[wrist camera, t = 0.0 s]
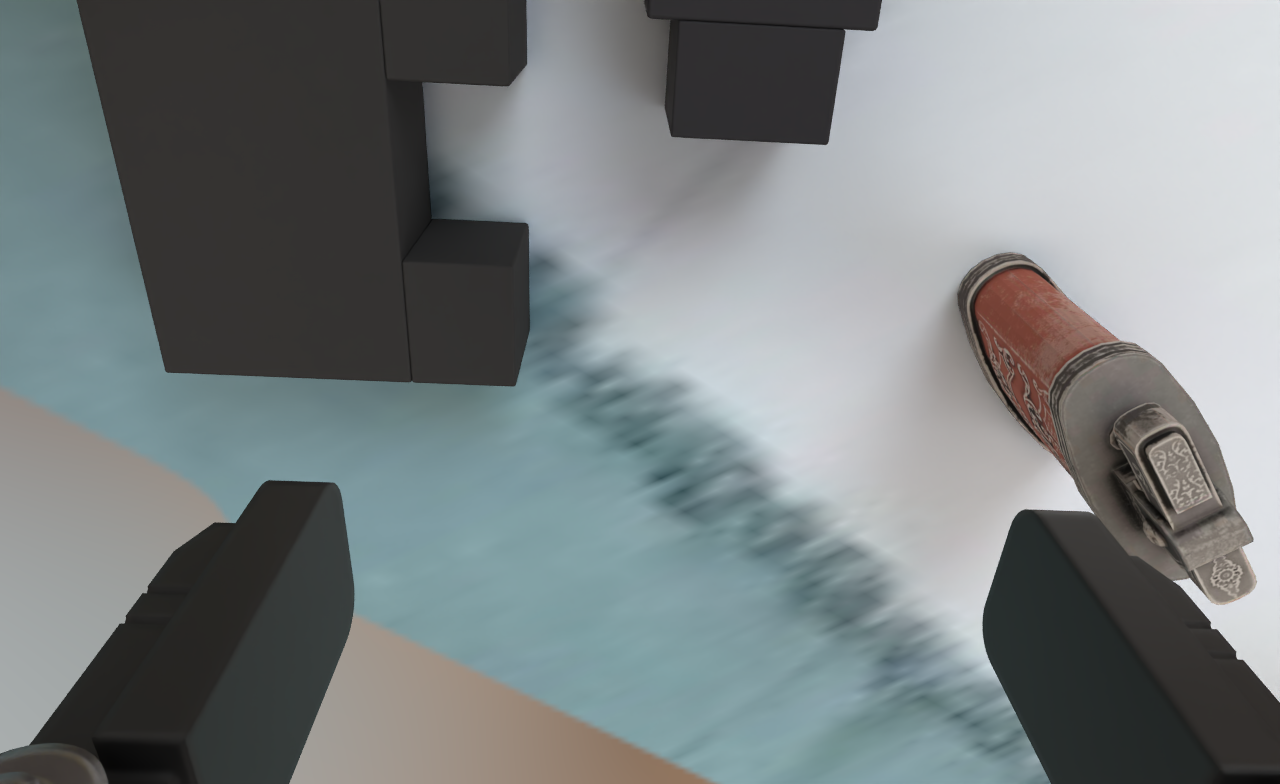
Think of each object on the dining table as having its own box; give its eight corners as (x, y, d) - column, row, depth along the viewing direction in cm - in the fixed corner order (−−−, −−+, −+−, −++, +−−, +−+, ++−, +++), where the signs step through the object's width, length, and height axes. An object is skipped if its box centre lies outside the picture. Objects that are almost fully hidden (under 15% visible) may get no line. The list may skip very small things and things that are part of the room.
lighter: (1122, 410, 30) (1332, 609, 21) (1032, 458, 31) (1197, 668, 22) (1031, 230, 26) (1233, 374, 18) (934, 289, 27) (1080, 454, 19)
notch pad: (140, -106, 22) (47, -116, 18) (525, -83, 22) (506, -88, 19) (224, 318, 28) (164, 373, 24) (530, 331, 28) (515, 387, 24)
